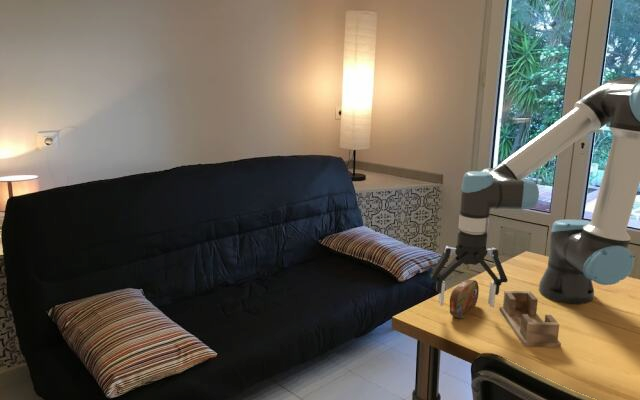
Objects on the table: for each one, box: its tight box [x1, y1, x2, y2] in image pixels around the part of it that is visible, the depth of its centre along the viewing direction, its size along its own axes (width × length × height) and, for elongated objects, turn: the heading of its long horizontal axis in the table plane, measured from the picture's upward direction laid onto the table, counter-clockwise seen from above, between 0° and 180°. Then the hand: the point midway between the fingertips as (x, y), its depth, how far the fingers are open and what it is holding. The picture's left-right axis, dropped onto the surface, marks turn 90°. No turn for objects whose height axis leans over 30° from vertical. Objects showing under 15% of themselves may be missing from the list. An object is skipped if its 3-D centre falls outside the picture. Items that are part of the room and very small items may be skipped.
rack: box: [499, 290, 562, 348], centre depth 137 cm, size 9×20×6 cm, turn 178°
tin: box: [449, 279, 480, 319], centre depth 146 cm, size 15×3×8 cm, turn 142°
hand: (465, 304), depth 142 cm, fingers open, 13 cm apart
